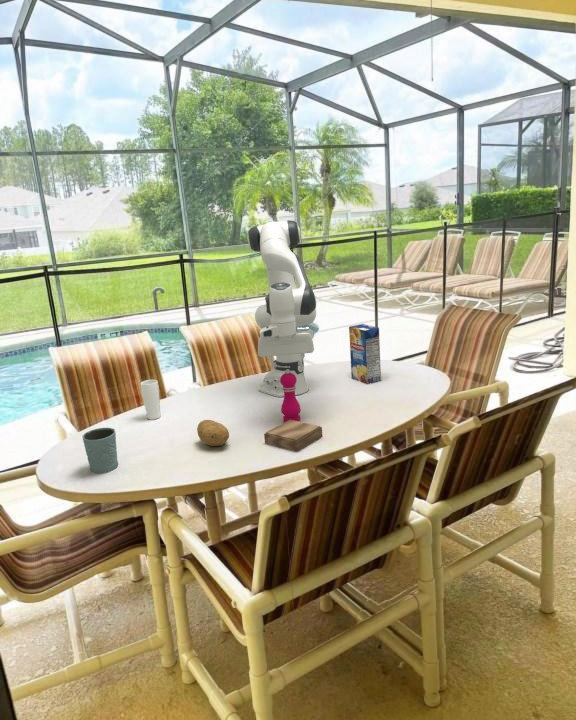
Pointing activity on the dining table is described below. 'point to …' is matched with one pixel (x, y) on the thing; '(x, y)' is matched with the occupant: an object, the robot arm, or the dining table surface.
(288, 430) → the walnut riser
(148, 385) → the drinking glass
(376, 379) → the juice carton
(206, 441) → the potato
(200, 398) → the dining table surface
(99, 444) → the green textured cup
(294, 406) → the pepper mill
